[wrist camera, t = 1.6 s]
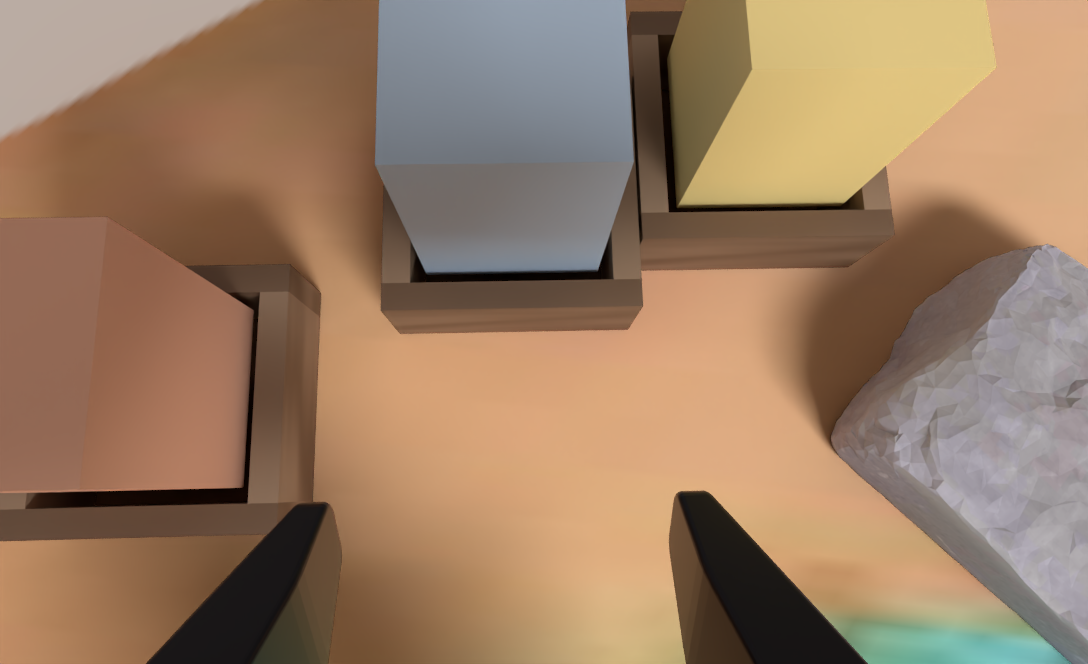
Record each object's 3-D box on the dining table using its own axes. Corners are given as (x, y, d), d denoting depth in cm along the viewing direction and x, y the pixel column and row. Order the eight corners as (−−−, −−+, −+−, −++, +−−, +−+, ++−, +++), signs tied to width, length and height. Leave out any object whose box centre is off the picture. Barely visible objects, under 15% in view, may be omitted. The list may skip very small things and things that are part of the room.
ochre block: (840, 205, 22) (997, 67, 15) (676, 208, 22) (752, 69, 15) (823, 57, 23) (962, -142, 16) (667, 58, 23) (732, -141, 16)
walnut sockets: (875, 512, 23) (931, 516, 20) (65, 533, 22) (-11, 541, 19) (825, 67, 26) (865, 10, 23) (114, 73, 25) (56, 15, 22)
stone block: (936, 256, 27) (793, 455, 23) (1044, 190, 22) (888, 423, 19) (1200, 478, 26) (1094, 723, 22) (1368, 456, 21) (1270, 757, 18)
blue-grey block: (597, 272, 22) (634, 161, 14) (426, 275, 21) (375, 164, 14) (591, 116, 23) (622, -62, 15) (428, 117, 22) (380, -61, 15)
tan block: (243, 488, 20) (79, 489, 13) (57, 492, 20) (-217, 496, 13) (253, 310, 21) (107, 216, 14) (77, 313, 21) (-166, 220, 14)
